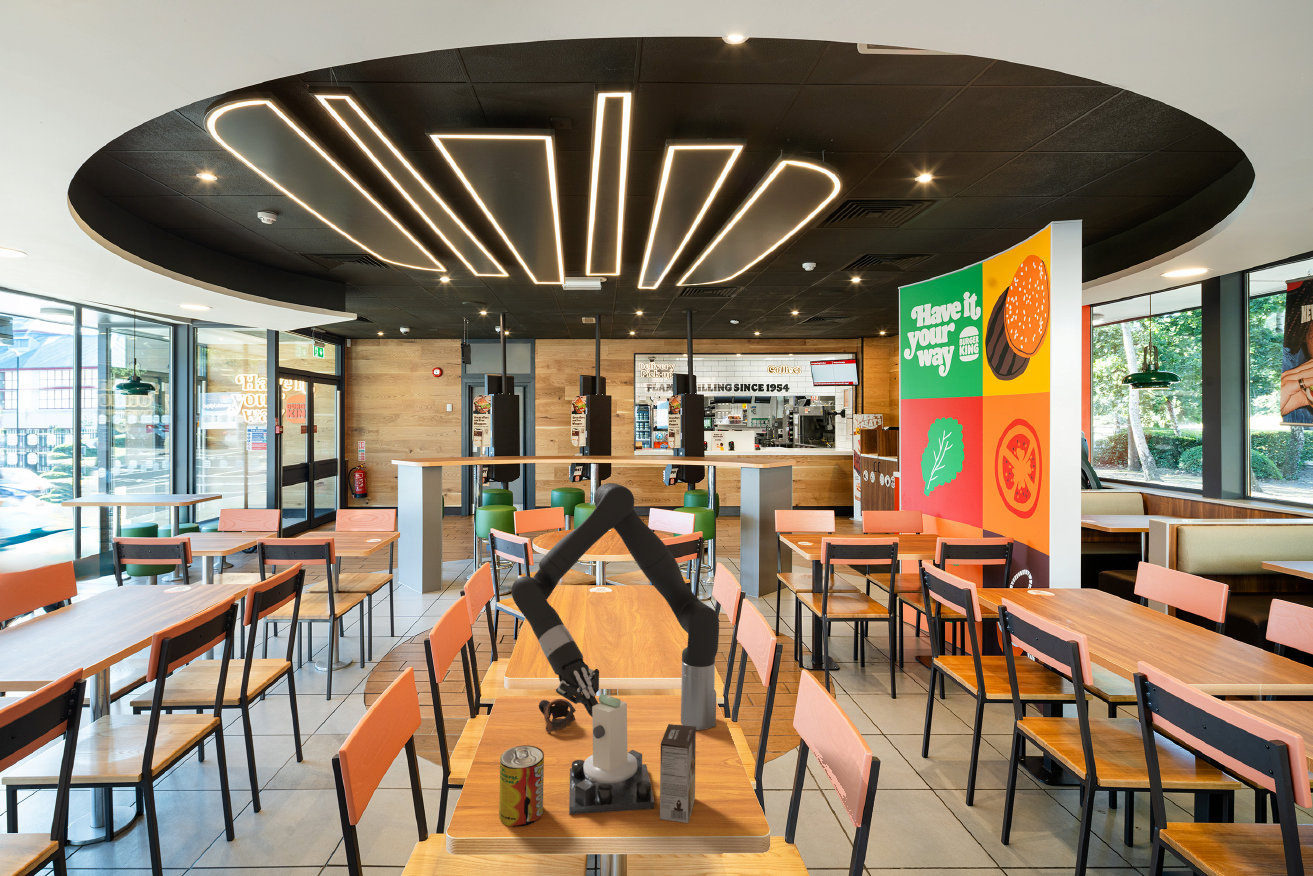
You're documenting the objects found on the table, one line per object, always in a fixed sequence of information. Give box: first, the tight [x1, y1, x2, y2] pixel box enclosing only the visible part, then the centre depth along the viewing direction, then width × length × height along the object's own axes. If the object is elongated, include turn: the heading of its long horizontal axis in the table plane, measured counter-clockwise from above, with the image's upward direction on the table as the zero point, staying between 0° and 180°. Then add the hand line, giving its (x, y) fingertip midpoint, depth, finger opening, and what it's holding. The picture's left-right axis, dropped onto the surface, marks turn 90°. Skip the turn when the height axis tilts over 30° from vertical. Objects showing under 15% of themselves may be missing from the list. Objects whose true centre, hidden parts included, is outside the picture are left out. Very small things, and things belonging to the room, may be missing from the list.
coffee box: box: [659, 723, 697, 824], centre depth 129 cm, size 9×6×16 cm
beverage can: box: [498, 744, 545, 828], centre depth 127 cm, size 9×9×12 cm
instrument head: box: [583, 693, 637, 783], centre depth 136 cm, size 12×12×17 cm
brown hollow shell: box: [538, 698, 577, 734], centre depth 166 cm, size 12×10×8 cm
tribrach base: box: [568, 749, 655, 815], centre depth 135 cm, size 18×16×5 cm
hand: (597, 714), depth 138 cm, fingers closed
